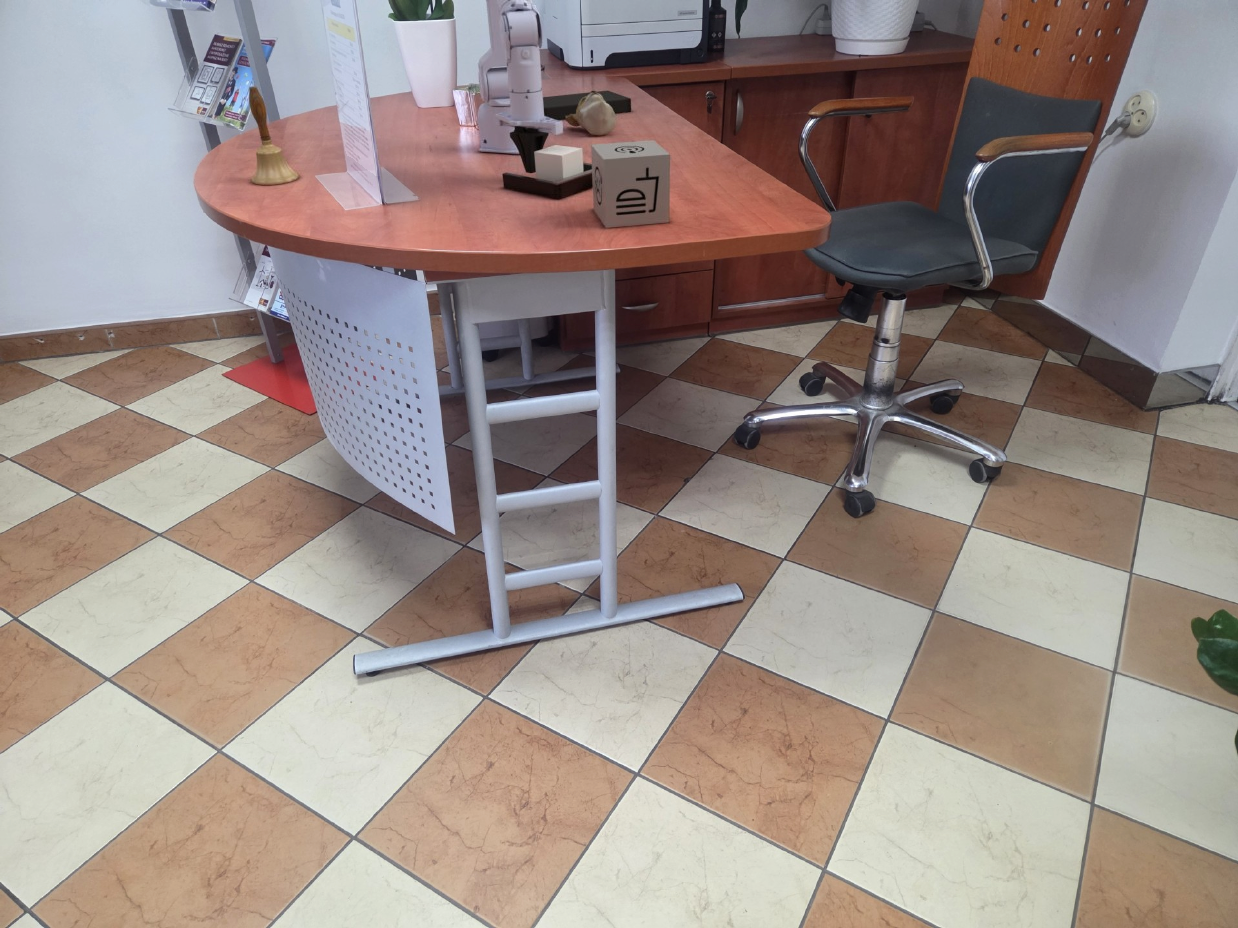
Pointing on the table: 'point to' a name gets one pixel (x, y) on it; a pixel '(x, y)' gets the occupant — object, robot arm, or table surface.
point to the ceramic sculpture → (593, 115)
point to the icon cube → (631, 183)
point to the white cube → (558, 162)
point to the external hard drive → (568, 103)
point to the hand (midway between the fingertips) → (532, 172)
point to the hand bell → (268, 148)
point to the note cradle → (550, 184)
